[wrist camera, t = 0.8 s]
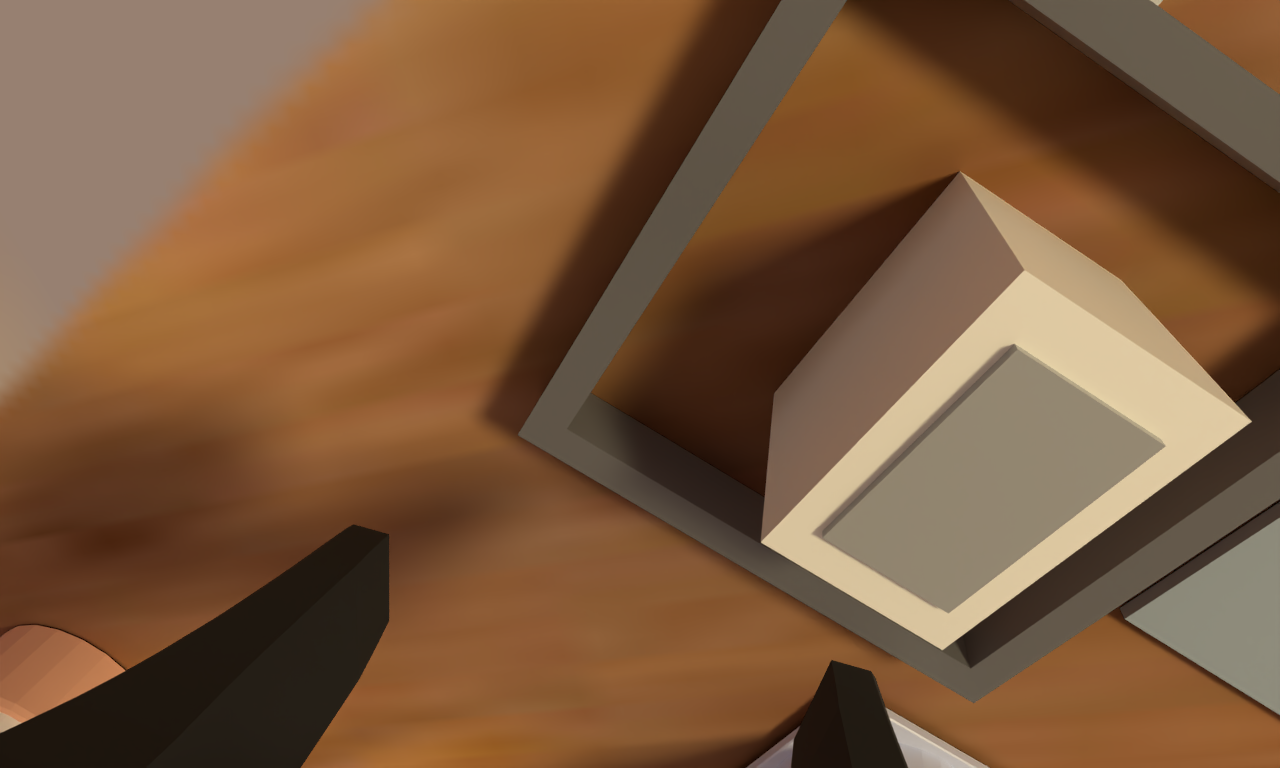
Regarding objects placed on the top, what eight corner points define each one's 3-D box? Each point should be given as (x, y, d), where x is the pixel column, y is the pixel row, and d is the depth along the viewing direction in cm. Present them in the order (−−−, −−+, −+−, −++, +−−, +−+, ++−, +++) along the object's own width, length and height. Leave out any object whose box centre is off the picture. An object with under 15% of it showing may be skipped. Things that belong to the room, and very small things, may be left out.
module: (1120, 279, 17) (1258, 428, 12) (910, 476, 21) (943, 657, 15) (959, 170, 16) (1027, 274, 11) (773, 391, 20) (759, 549, 15)
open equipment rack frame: (1518, 242, 15) (1607, 280, 13) (962, 647, 23) (973, 703, 21) (906, -207, 13) (919, -228, 12) (540, 396, 22) (517, 435, 20)
